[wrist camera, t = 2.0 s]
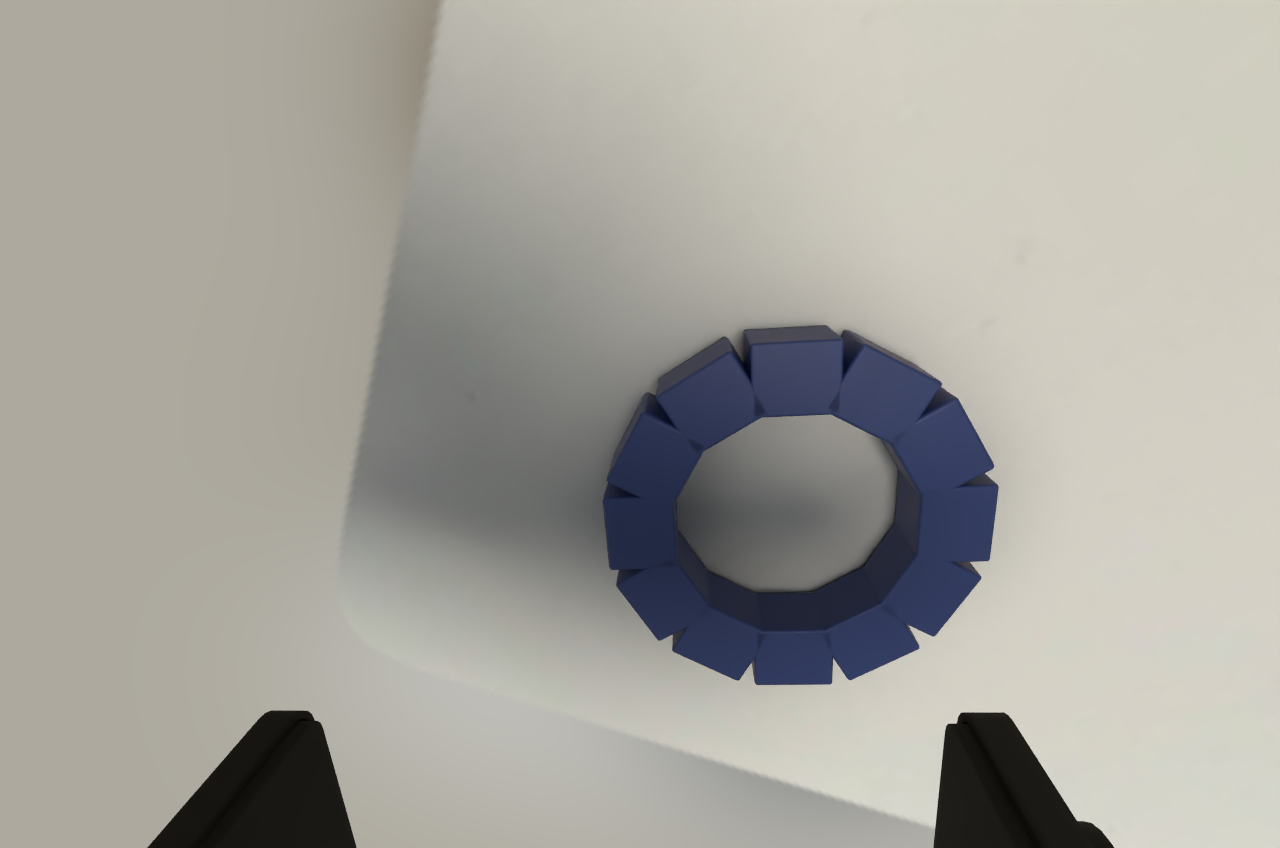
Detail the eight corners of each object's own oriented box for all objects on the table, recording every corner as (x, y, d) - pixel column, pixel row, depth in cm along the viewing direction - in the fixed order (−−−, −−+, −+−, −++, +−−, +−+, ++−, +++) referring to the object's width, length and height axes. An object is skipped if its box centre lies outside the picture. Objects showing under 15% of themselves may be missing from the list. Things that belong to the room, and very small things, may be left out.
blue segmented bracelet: (626, 645, 19) (620, 686, 18) (597, 337, 16) (587, 352, 15) (948, 640, 18) (975, 684, 17) (983, 316, 15) (1020, 329, 14)
